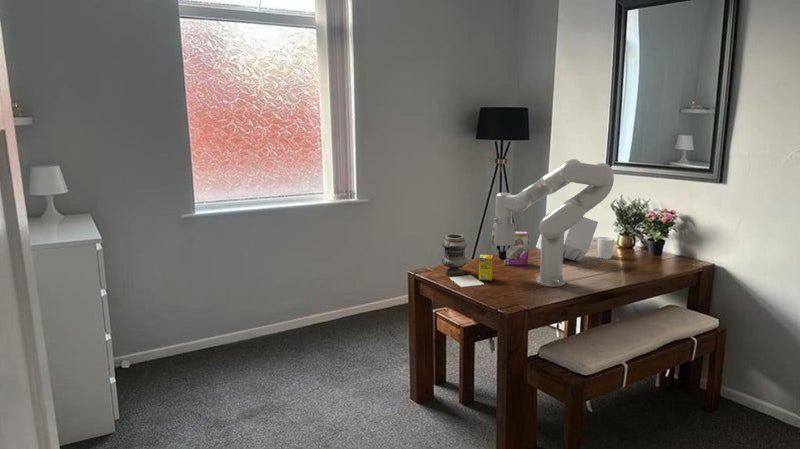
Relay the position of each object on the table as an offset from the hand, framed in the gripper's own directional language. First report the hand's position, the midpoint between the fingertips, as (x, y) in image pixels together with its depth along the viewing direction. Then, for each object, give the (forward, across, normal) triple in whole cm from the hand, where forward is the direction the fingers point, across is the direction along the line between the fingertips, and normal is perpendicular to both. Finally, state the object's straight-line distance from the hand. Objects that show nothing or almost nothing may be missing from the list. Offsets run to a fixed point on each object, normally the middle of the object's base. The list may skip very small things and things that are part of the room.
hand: (502, 259), depth 246 cm
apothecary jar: (+9, -17, +15) cm, 25 cm away
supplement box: (+9, -8, 0) cm, 12 cm away
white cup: (+9, +66, +13) cm, 67 cm away
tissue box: (+9, +44, +16) cm, 47 cm away
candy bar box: (+9, +17, +17) cm, 25 cm away
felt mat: (+9, -18, 0) cm, 20 cm away
